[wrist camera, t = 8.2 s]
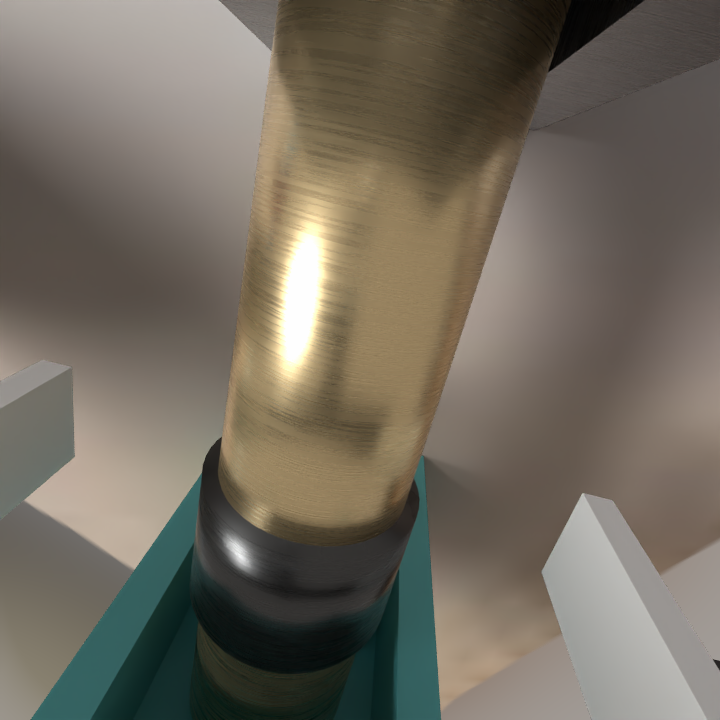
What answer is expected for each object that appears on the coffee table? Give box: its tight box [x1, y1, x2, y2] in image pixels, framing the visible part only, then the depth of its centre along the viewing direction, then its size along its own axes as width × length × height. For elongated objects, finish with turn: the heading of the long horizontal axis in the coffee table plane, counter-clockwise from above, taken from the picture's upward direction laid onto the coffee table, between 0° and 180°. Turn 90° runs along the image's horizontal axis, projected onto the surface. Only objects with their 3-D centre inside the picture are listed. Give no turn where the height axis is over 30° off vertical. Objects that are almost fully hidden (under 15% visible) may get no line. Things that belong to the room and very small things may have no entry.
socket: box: [31, 456, 441, 720], centre depth 15 cm, size 4×8×13 cm, turn 77°
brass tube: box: [189, 0, 571, 720], centre depth 9 cm, size 18×5×5 cm, turn 167°
